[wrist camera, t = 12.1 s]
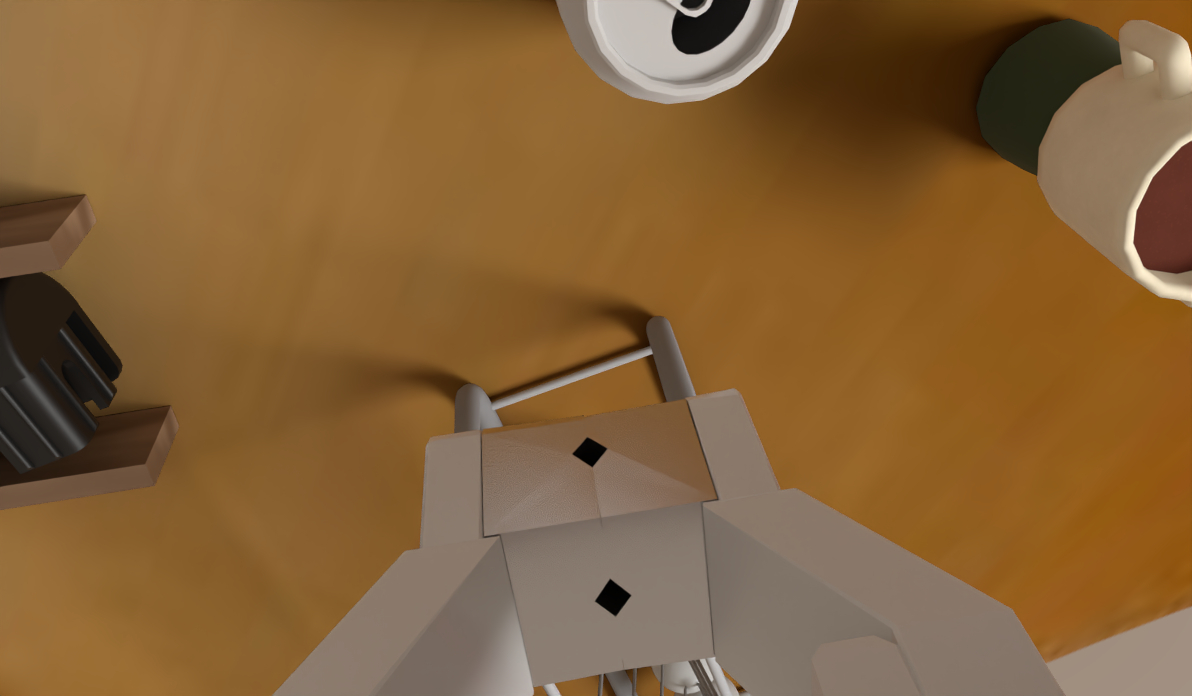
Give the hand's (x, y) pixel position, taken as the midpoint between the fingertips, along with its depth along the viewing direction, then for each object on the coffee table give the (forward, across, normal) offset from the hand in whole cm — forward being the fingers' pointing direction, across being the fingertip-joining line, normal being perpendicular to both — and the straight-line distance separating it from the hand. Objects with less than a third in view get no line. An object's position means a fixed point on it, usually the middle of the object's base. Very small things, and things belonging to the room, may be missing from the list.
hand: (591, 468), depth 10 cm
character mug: (+34, -22, +10) cm, 42 cm away
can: (+34, -5, +1) cm, 35 cm away
